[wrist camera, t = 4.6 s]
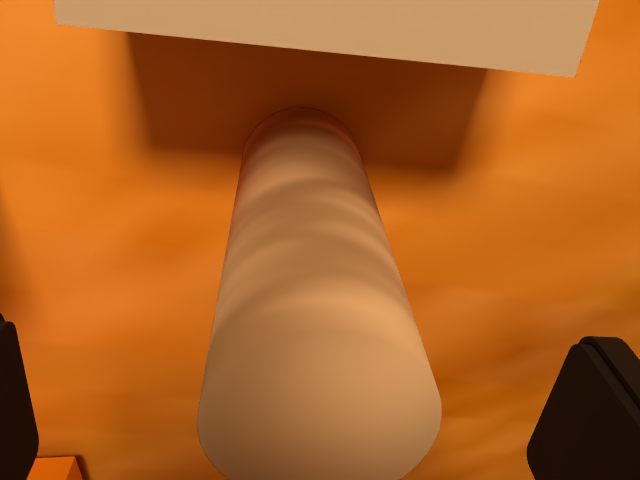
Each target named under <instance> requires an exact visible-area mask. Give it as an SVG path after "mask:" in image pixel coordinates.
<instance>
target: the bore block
mask: <svg viewBox="0 0 640 480" xmlns="http://www.w3.org/2000/svg"><path fill="white" fill-rule="evenodd" d="M53 1H54V10H55V19H56V24H57V25H67V26H77V27H86V28H96V29H106V30H116V31H126V32H136V33H145V34H155V35H165V36H175V37H185V38H194V39H204V40H214V41H224V42H234V43H244V44H253V45H263V46H273V47H283V48H293V49H302V50H312V51H322V52H332V53H342V54H351V55H361V56H371V57H381V58H391V59H401V60H410V61H420V62H430V63H440V64H450V65H459V66H469V67H479V68H489V69H499V70H509V71H518V72H528V73H538V74H548V75H558V76H567V77H575V75H576V72H577V69H578V66H579V63H580V60H581V57H582V54H583V51H584V48H585V44H586V41H587V38H588V35H589V32H590V29H591V26H592V23H593V20H594V17H595V14H596V11H597V8H598V5H599V1H600V0H53Z"/></svg>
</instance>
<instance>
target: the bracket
mask: <svg viewBox="0 0 640 480" xmlns="http://www.w3.org/2000/svg"><path fill="white" fill-rule="evenodd" d="M27 480H83V479H82V476H81V473H80V470H79V467H78V464H77V461H76V458H75V456H70V457H51V458H36V459H35V462H34V464H33V466H32V468H31V471H30V473H29V475H28V478H27Z"/></svg>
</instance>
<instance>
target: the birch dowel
mask: <svg viewBox="0 0 640 480" xmlns="http://www.w3.org/2000/svg"><path fill="white" fill-rule="evenodd" d="M441 418H442V406H441V400H440V395H439V392H438V389H437V386H436V383H435V380H434V377H433V374H432V371H431V368H430V365H429V362H428V359H427V356H426V353H425V350H424V347H423V344H422V341H421V338H420V335H419V332H418V329H417V326H416V323H415V320H414V317H413V314H412V311H411V308H410V305H409V302H408V299H407V296H406V293H405V290H404V287H403V284H402V281H401V278H400V275H399V272H398V269H397V266H396V263H395V260H394V257H393V253H392V250H391V247H390V244H389V241H388V238H387V235H386V232H385V229H384V226H383V223H382V220H381V217H380V214H379V211H378V208H377V205H376V202H375V199H374V196H373V193H372V190H371V187H370V184H369V181H368V178H367V175H366V172H365V169H364V166H363V163H362V160H361V157H360V154H359V151H358V148H357V145H356V142H355V140H354V138H353V136H352V135H351V133H350V132H349V130H348V129H347V128H346V127H345V126H344V125H343V124H342V123H341V122H340V121H339V120H337V119H336V118H335V117H333V116H331V115H330V114H327V113H325V112H323V111H320V110H316V109H311V108H291V109H286V110H282V111H280V112H277V113H275V114H273V115H271V116H269V117H268V118H266V119H265V120H264V121H262V122H261V123H260V124H259V125H258V126H257V127H256V128H255V129H254V131H253V132H252V133H251V135H250V137H249V138H248V140H247V143H246V145H245V148H244V152H243V157H242V163H241V169H240V174H239V180H238V186H237V191H236V197H235V203H234V209H233V214H232V220H231V226H230V231H229V237H228V243H227V248H226V254H225V260H224V266H223V271H222V277H221V283H220V288H219V294H218V300H217V305H216V311H215V317H214V322H213V328H212V334H211V340H210V345H209V351H208V357H207V362H206V368H205V374H204V379H203V385H202V391H201V397H200V402H199V408H198V416H197V429H198V436H199V439H200V443H201V446H202V448H203V450H204V452H205V454H206V456H207V457H208V459H209V460H210V462H211V463H212V464H213V466H214V467H215V468H216V469H217V470H218V471H219V472H220V473H221V474H222V475H224V476H225V477H226V478H227V479H229V480H399V479H401V478H402V477H404V476H405V475H406V474H408V473H409V472H410V471H411V470H413V469H414V468H415V467H416V466H417V465H418V464H419V463H420V462H421V461H422V459H423V458H424V457H425V456H426V454H427V453H428V452H429V450H430V449H431V447H432V445H433V443H434V442H435V440H436V437H437V434H438V432H439V428H440V424H441Z"/></svg>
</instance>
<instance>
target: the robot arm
mask: <svg viewBox="0 0 640 480" xmlns="http://www.w3.org/2000/svg"><path fill="white" fill-rule="evenodd" d="M38 446H39V437H38V431H37V427H36V422H35V417H34V412H33V408H32V403H31V398H30V393H29V389H28V384H27V379H26V374H25V370H24V365H23V360H22V355H21V351H20V346H19V341H18V336H17V332H16V328H15V325H14V324H13V322H6V321H5V320H4V317H3V316H2V314H1V313H0V480H27V478H28V475H29V473H30V471H31V468H32V466H33V464H34V462H35V459H36V456H37V452H38ZM527 460H528V464H529V467H530V469H531V471H532V474H533V476H534V478H535V480H640V360H639V359H638V357H637V356H636V355H635V354H634V352H633V351H632V350H631V349H630V347H629V346H628V345H627V344H626V343H625V342H624V341H623V340H622V339H620V338H617V337H594V336H587V337H584V338H582V339H581V340H580V342H579V343H578V344H575V345H573V346H572V347H571V348H570V350H569V352H568V355H567V357H566V359H565V361H564V364H563V366H562V368H561V371H560V373H559V375H558V377H557V380H556V382H555V384H554V386H553V389H552V391H551V393H550V396H549V398H548V400H547V402H546V405H545V407H544V409H543V411H542V414H541V416H540V418H539V421H538V423H537V425H536V427H535V430H534V432H533V434H532V436H531V439H530V441H529V443H528V446H527Z"/></svg>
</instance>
